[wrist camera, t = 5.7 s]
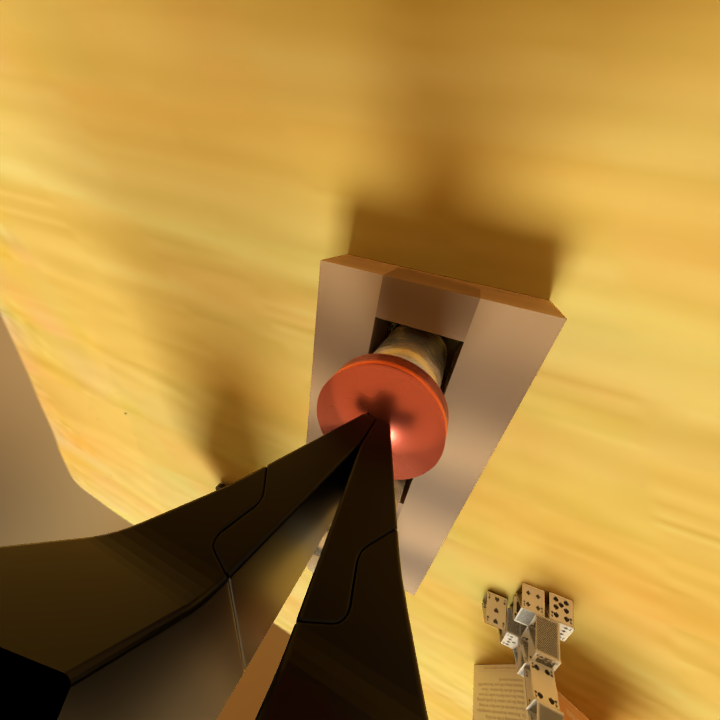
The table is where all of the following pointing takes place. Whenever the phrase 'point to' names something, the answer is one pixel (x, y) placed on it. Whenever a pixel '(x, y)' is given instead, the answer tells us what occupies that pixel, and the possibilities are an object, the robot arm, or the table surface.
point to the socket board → (461, 388)
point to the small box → (507, 695)
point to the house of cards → (534, 642)
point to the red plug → (395, 397)
